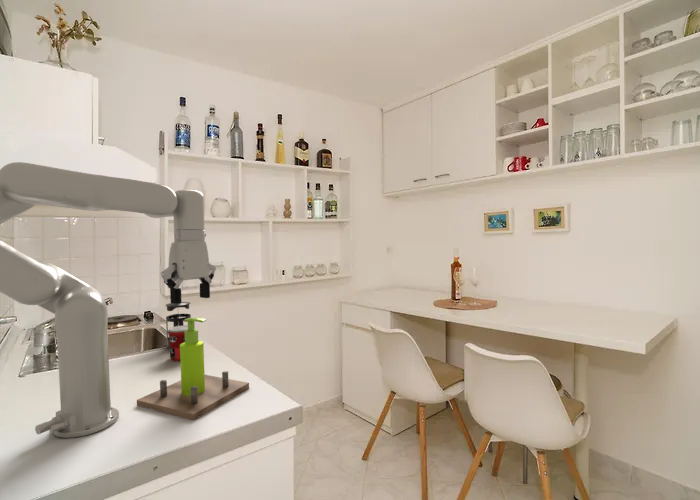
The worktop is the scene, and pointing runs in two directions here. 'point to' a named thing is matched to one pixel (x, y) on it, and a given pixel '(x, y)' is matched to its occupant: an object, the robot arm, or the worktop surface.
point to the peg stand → (193, 397)
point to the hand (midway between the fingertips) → (191, 300)
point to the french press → (176, 316)
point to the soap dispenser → (192, 359)
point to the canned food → (176, 341)
